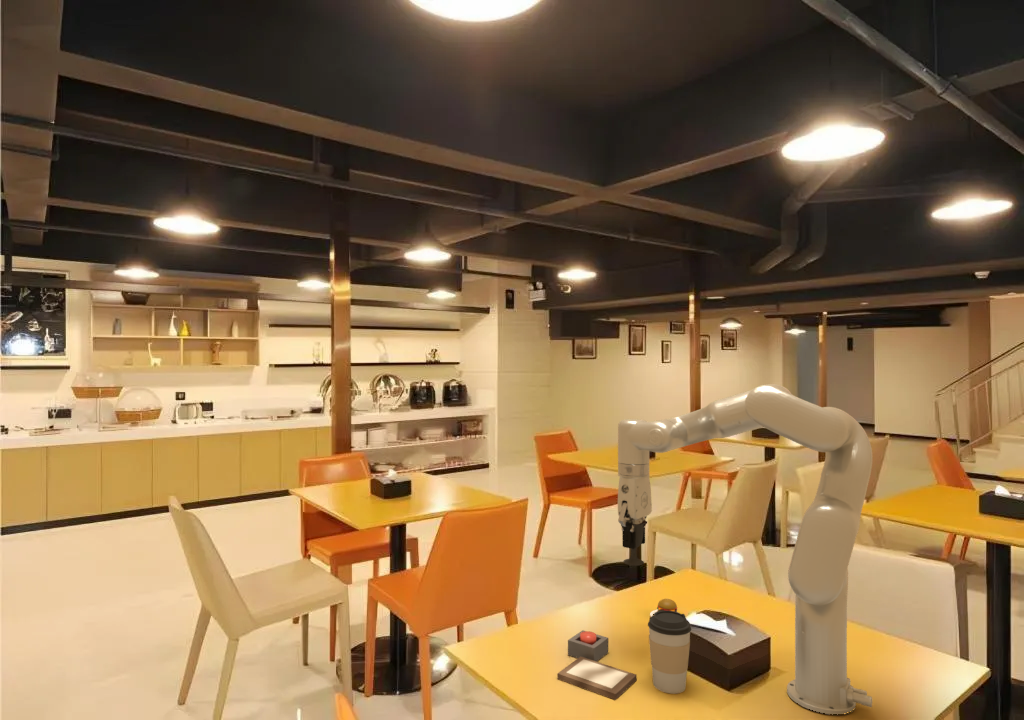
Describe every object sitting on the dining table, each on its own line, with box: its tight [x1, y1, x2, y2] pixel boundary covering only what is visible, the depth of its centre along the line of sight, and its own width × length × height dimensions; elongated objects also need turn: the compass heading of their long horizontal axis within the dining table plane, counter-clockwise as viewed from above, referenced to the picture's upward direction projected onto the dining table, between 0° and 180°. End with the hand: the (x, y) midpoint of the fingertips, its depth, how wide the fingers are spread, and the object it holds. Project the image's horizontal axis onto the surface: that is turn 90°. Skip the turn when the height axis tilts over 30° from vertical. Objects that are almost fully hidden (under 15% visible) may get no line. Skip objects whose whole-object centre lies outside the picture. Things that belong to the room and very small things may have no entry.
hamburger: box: [649, 598, 678, 618], centre depth 167 cm, size 12×12×6 cm
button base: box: [567, 629, 609, 662], centre depth 145 cm, size 7×7×4 cm
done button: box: [580, 630, 597, 645], centre depth 145 cm, size 4×4×2 cm
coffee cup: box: [647, 610, 692, 695], centre depth 131 cm, size 9×9×15 cm
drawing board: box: [556, 656, 638, 701], centre depth 132 cm, size 14×10×1 cm
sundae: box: [622, 515, 648, 567], centre depth 149 cm, size 7×7×15 cm
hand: (633, 544), depth 148 cm, fingers closed on sundae, 4 cm apart
